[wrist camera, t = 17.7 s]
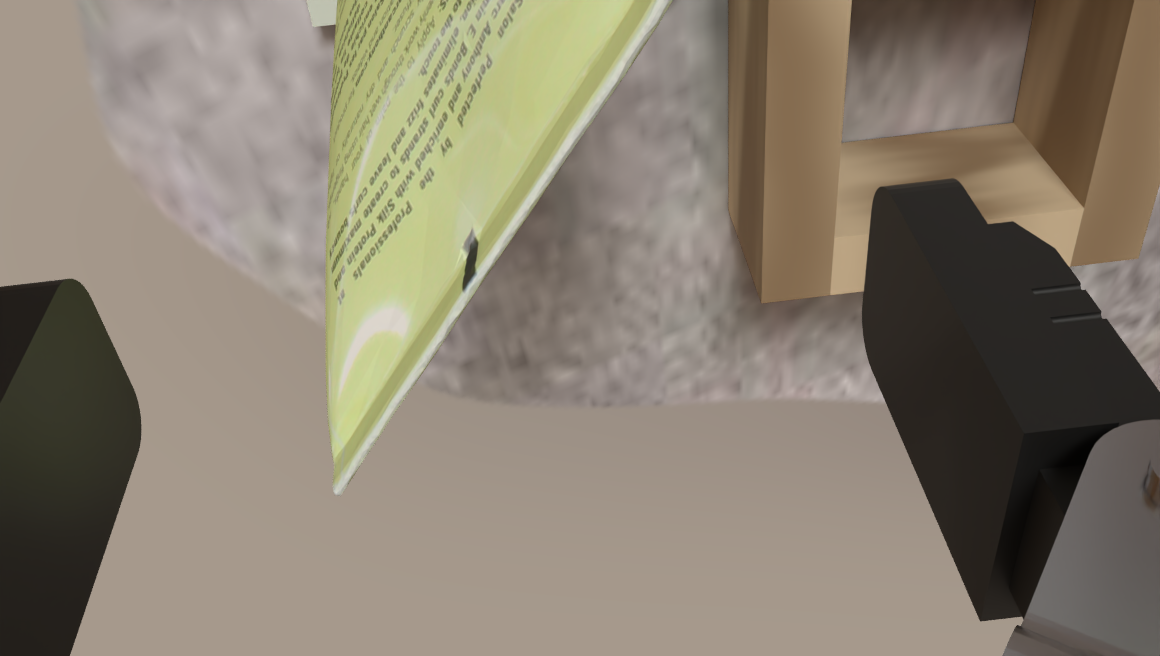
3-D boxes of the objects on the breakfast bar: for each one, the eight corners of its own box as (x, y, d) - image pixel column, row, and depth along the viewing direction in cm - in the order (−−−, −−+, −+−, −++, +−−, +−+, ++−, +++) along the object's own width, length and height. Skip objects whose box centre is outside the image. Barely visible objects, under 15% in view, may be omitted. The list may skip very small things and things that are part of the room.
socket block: (1154, -235, 28) (1266, -185, 24) (1064, 170, 36) (1138, 258, 32) (728, -187, 28) (771, -129, 24) (728, 210, 35) (761, 303, 32)
